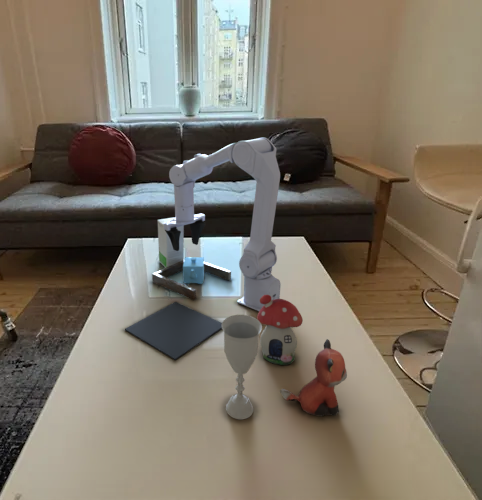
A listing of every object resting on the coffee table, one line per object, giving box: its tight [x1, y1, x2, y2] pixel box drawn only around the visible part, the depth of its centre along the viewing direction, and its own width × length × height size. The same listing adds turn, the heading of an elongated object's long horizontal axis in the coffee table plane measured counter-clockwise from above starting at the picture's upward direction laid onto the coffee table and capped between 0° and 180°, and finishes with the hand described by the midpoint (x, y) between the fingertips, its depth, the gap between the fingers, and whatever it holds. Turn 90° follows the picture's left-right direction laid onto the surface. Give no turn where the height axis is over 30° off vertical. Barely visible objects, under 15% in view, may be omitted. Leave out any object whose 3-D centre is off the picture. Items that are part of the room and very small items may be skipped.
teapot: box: [182, 256, 205, 285], centre depth 119 cm, size 12×6×8 cm, turn 176°
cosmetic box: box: [157, 217, 185, 268], centre depth 131 cm, size 8×7×16 cm
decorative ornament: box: [256, 295, 304, 366], centre depth 83 cm, size 9×6×15 cm
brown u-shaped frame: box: [151, 260, 232, 301], centre depth 121 cm, size 18×17×3 cm
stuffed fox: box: [279, 338, 348, 417], centre depth 70 cm, size 8×11×12 cm
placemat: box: [124, 301, 223, 361], centre depth 97 cm, size 18×18×1 cm
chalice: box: [221, 314, 263, 420], centre depth 68 cm, size 7×7×18 cm
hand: (185, 246), depth 121 cm, fingers open, 7 cm apart
